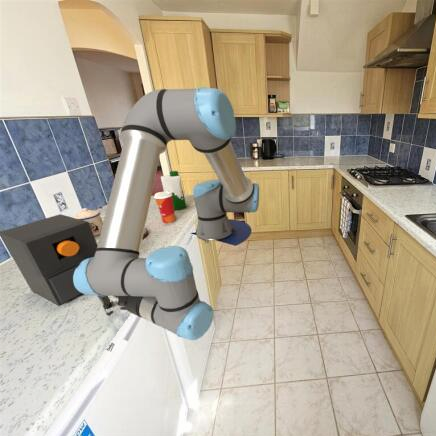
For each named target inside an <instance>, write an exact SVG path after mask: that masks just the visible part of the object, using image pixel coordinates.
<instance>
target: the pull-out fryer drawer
mask: <svg viewBox="0 0 436 436" xmlns="http://www.w3.org/2000/svg"><path fill="white" fill-rule="evenodd" d="M79 265H80V264H79ZM79 265H76V266H74V267H72V268H70V269H68V270H66V271H63V272H61V273H59V274H57V275H55V276H52V277H50V278H49V281H50V283H51V285H52V287H53V289H54V291H55V293H56V295H57V297H58V298H59V300H60V302H61V303H64V302H66V301H67V302H69V301H71V300H73V299H74V298H73V297H75V296H77V295H78V296H80V295H82V294H81V292H79V291H78V290H77V289H76V288H75V286H74V282H73V275H74V272H75V269H76V268H78V266H79ZM79 294H80V295H79ZM78 296H77V297H78ZM72 298H73V299H72ZM75 298H76V297H75ZM70 299H71V300H70ZM68 300H69V301H68ZM67 302H66V303H67ZM64 304H65V303H64Z"/></svg>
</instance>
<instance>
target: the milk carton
mask: <svg viewBox="0 0 436 436" xmlns="http://www.w3.org/2000/svg"><path fill="white" fill-rule="evenodd" d="M160 180H161V186H162V190H163V192H166V191H169V192H171V194H172V200H173V206H174V212H175V211H180V210H185V209H187V204H186V198H185V193H184V188H183V184H182V176H181V175H180V174H179V171H178V170H172V171H169V174H166V175H161V176H160Z"/></svg>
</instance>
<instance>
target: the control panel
mask: <svg viewBox="0 0 436 436" xmlns="http://www.w3.org/2000/svg"><path fill="white" fill-rule="evenodd" d="M69 216H70V215H65V214H61V213H60V214H56V215H53V216H49V217H46V218H43V219H40V220H36V221H32V222H29V223H26V224H21V225H19V226H15V227H12V228H8V229H6V230H1V231H0V238H1V240H2V242H3V243H4V245H5V247H6V248H7V250H8V252H9V254H10V256H11V257H12V259H13V261H14V263H15V264H16V265H17V264H18V265H20V266H22V267H24V268H26V269H28V270H30V271H32V272H34V273H36V274H38V275H40V276H42V277H45V276H47V275H49V274H51V273H54V272H56V271H58V270H60V269H63V268H65V267H67V266H69V265H71V264H74V263H76V262H78V261H80V260H83V259H85V258H87V257H89V256H92V255H94V254H95V253H96V249H97V245H98V242H97V240H96V238H95V237H96V236H94V235H93V232H92V230H91V227H90V225H89V222H87V221H84V220H80V219H76V218H73V217H72V216H70V217H69ZM65 240H70V241H73V242H76V243H77V244H78V245H79V251H78V252H77V253H76V254H75V255H73V256H64V255H62V254H59V253H58V252H57V249H56V248H57V245H58V244H59V243H60V242H62V241H65Z"/></svg>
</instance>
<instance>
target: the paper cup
mask: <svg viewBox="0 0 436 436" xmlns="http://www.w3.org/2000/svg"><path fill="white" fill-rule="evenodd" d="M153 199H155V202H156V205H157V208H158V212H159V214H160V217H161V220H162V222H163V223H164V224H170V223H173V222H175V221H176V213H175V211H174V206H173V200H172V194H171V192H169V191H166V192H164V191H159V192H156V193H155V194H154V198H153Z"/></svg>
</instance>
